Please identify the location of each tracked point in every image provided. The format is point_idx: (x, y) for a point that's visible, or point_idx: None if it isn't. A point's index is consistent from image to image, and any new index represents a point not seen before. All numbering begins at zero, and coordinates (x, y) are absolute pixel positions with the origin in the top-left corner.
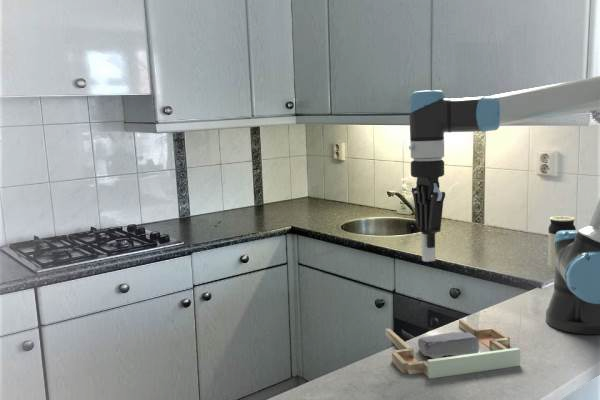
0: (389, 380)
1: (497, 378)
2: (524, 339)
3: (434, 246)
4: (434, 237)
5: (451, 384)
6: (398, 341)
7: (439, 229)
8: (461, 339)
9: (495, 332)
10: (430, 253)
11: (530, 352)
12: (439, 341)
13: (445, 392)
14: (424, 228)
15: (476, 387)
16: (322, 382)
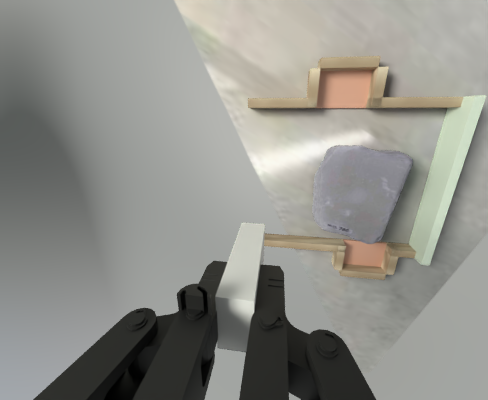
0: (389, 292)
1: (474, 165)
2: (358, 4)
3: (282, 271)
4: (283, 304)
5: (447, 234)
6: (300, 247)
7: (349, 357)
8: (401, 190)
9: (337, 68)
10: (262, 256)
11: (421, 36)
12: (385, 227)
13: (463, 253)
14: (208, 358)
15: (478, 210)
16: (353, 348)
